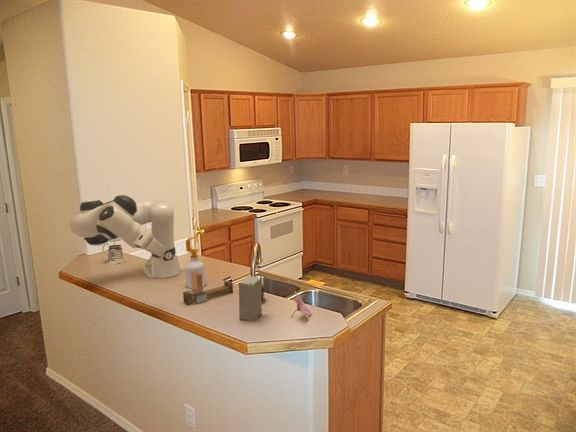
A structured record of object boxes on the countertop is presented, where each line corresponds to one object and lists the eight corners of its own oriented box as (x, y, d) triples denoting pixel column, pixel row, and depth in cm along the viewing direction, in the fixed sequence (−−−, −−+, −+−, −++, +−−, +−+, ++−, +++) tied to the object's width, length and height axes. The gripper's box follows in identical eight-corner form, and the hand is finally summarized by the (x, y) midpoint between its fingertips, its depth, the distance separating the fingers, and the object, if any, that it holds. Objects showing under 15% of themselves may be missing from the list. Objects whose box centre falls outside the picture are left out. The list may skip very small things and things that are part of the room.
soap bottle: (201, 289, 218) (198, 238, 214) (183, 288, 220) (179, 238, 216) (208, 283, 227) (205, 234, 223) (190, 282, 229) (187, 234, 224)
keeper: (189, 299, 204) (187, 273, 202) (199, 296, 208) (197, 270, 205) (196, 303, 199) (194, 276, 197) (206, 300, 202) (205, 274, 200)
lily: (297, 329, 174) (310, 307, 173) (275, 311, 180) (287, 290, 179) (311, 327, 185) (323, 306, 183) (290, 310, 190) (301, 290, 189)
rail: (183, 302, 201) (182, 292, 200) (228, 290, 215) (227, 280, 214) (187, 305, 198) (187, 294, 197) (233, 292, 212) (232, 282, 211)
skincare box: (247, 312, 189) (246, 275, 186) (263, 314, 187) (262, 276, 184) (238, 320, 182) (236, 281, 179) (254, 322, 179) (253, 283, 176)
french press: (127, 262, 267) (123, 220, 262) (106, 266, 261) (101, 223, 256) (123, 259, 275) (119, 217, 270) (102, 262, 269) (98, 220, 264)
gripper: (122, 238, 189) (147, 257, 197) (142, 247, 174) (168, 267, 181) (132, 226, 191) (156, 245, 199) (152, 234, 176) (177, 254, 183)
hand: (162, 255), depth 190 cm, fingers closed
